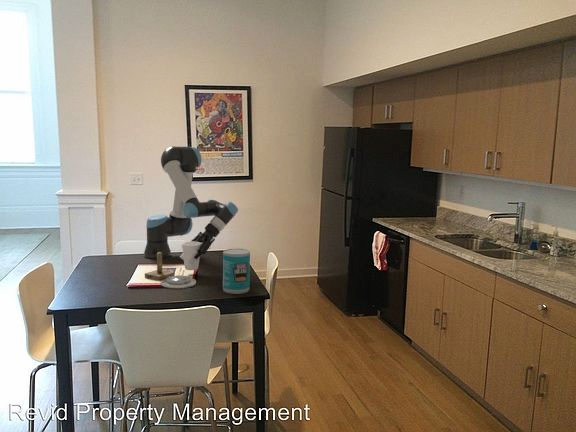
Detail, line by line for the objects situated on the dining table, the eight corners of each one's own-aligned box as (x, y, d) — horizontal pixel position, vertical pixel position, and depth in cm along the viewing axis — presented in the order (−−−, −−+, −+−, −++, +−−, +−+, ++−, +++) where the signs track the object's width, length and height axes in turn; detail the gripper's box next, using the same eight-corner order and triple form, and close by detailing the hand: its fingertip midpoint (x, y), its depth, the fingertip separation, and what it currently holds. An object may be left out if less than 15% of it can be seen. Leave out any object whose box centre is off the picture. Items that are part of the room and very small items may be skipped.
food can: (243, 295, 209) (243, 255, 206) (218, 292, 213) (218, 252, 210) (253, 288, 220) (254, 249, 218) (229, 285, 224) (230, 247, 221)
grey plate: (154, 283, 222) (153, 278, 222) (181, 277, 235) (181, 272, 234) (175, 291, 212) (175, 285, 212) (203, 283, 225) (203, 278, 224)
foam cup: (198, 271, 235) (198, 245, 233) (180, 270, 236) (180, 245, 234) (202, 266, 245) (202, 241, 243) (184, 265, 245) (184, 241, 243)
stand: (144, 277, 232) (144, 253, 230) (159, 273, 241) (159, 249, 239) (160, 280, 227) (159, 256, 226) (174, 276, 236) (174, 252, 234)
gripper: (229, 235, 238) (200, 270, 231) (209, 228, 255) (181, 260, 248) (220, 226, 234) (190, 261, 227) (200, 219, 251) (172, 251, 244)
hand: (185, 260), depth 238 cm, fingers closed on foam cup, 9 cm apart
